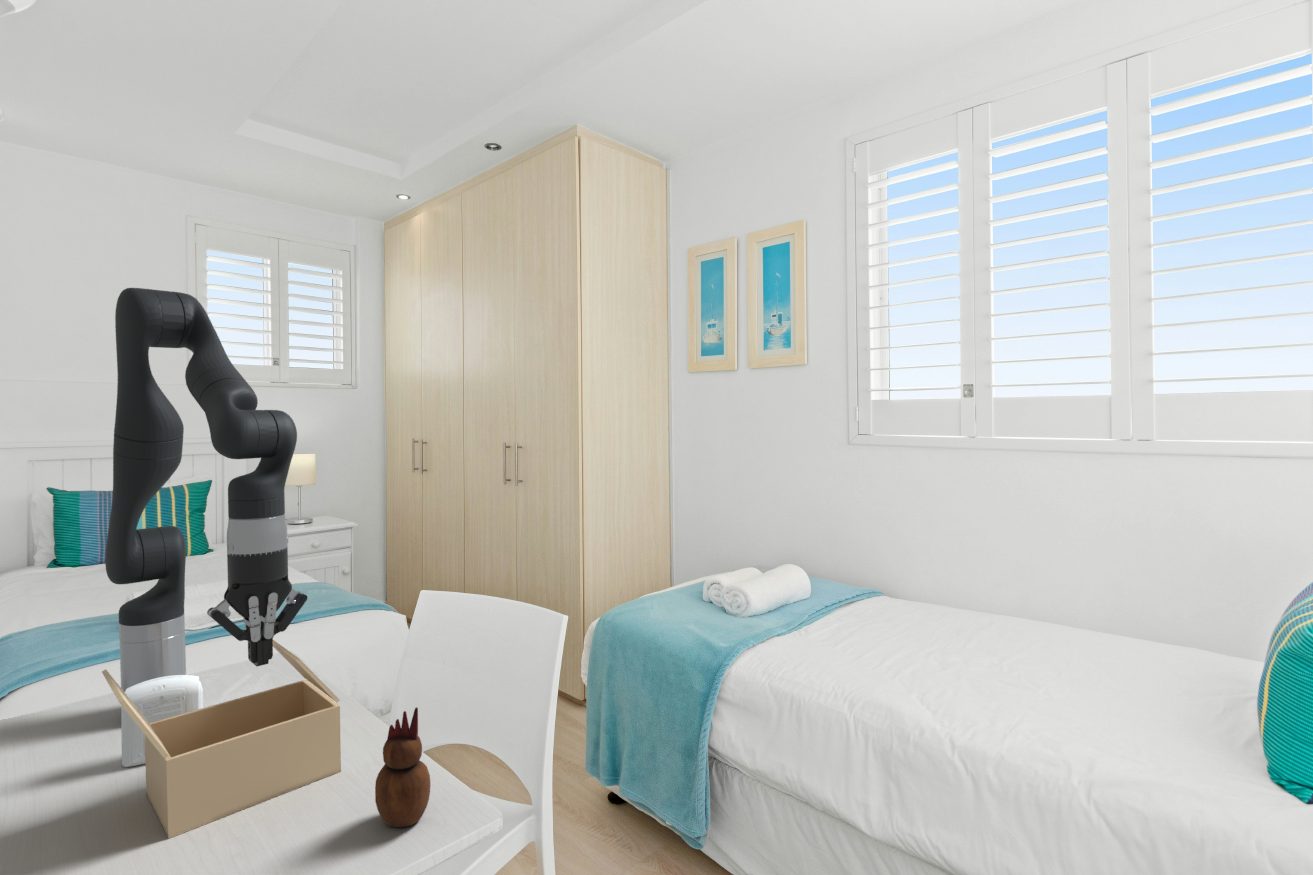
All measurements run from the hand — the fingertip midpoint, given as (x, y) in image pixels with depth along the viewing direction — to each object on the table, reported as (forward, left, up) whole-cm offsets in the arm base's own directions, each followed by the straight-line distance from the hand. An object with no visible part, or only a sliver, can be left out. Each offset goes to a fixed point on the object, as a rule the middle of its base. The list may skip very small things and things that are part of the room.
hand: (260, 663), depth 95 cm
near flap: (0, -14, -2) cm, 15 cm away
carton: (0, -2, -17) cm, 17 cm away
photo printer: (-18, -9, -17) cm, 26 cm away
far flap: (0, +5, -2) cm, 6 cm away
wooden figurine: (+25, +9, -17) cm, 32 cm away
